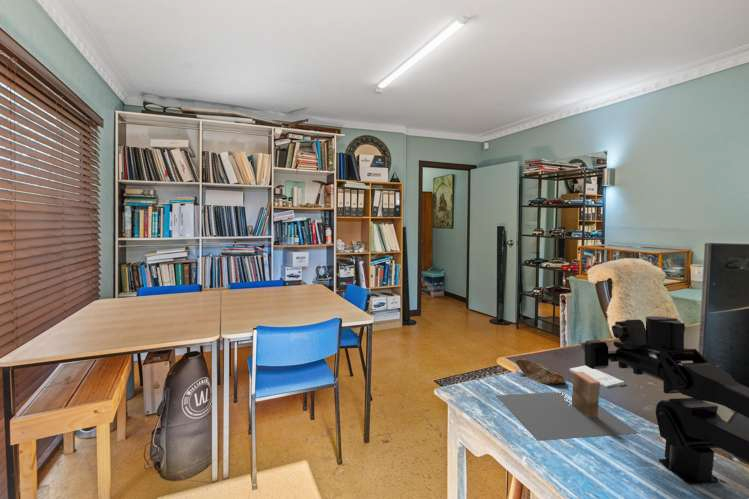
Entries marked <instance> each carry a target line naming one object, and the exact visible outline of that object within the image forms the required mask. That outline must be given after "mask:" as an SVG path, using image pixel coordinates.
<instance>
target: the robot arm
mask: <svg viewBox="0 0 749 499" xmlns="http://www.w3.org/2000/svg"><path fill="white" fill-rule="evenodd" d="M685 324H686V323H684V322H682V321H681V320H679V319H678V318H675V317H670V316H669V317H668V316H660V315H659V316H658V315H657V316H656V315H654V316H653V315H650V316H649V315H648V316H645V324H644V322H643V320H641V319H625V320H621V321H618V320H617V321H615V322H614V325H612V326H611V332H612V334H613V337H614V339H619V340H617V341H616V340H615V341H613V346H614V347H615V348H616V349H615V350H611V351H610V350H609V346H608V344H607V343H606V342H605V341H602V340H600V339H596V340H595V339H594V340H593V339H591V340H586V341H585V342H581V343H580V346H581V349H582V351H583V352H584V366H585V365H586V366H587V367H589V368H591V369H596V370H598V369H599V370H600V369H601V370H602V369H607V368H608V367H609V366H610V365H609V363H611V362H612V363H613V362H618V368H619V369H622V370H623V369H630V370H632V371H633V372H632V374H634V375H637V376H638V375H639V376H641V375H645V376H647V377H651V378H653V379H655V380H658V381H660V382H662V383H663V388H662V389H663V393H664V394H681V395H684V396H686V397H685V398H684V397H681V398H680V397H679V398H669V399H665V400H663V399H662V400H660V401H658V402H657V404H656V407H655V416H656V421H657V425H658V432H659V435H660V437H661V438H663V439H664V440H665V446H664V447H665V448H664V458H660V459H658V462H659V463H660V464H661V465H662V466H663V467H665V468H666V469H667V470H669V471H670V472H671V471H672V472H671V473H673V474H674V475H675V476H677V477H679V478H680V479H681V480H682V481H684V482H685V483H687V484H688V485H691V486H692V485H693V486H695V485H704V484H714V483H719V481H720V479H719V478H718V477H717V476H715V475H714V474H713V470H714V460H715V459H714V458H715V457H714V456H715V451H714V450H713V449H722V450H723V451H725V452H727V453H729V454H731V455H733V456H734V457H737V458H739V459H740V460H742V461H744V462H746V463H748V464H749V431H747V430H745V429H743V428H741V427H739V426H736V425H734V424H732V423H729V422H727V421H726V420H724V419H723V418H722V417H721V416H720V415H719V413H718V409H719V406H718V405H720V406H723V407H725V408H727V409H729V410H731V411H733V412H736V413H737V414H740V415H742V416H744V417H746V418H748V419H749V387H748V386H746V385H743V384H742V383H739V382H738V381H736V380H735V379H734V378H733V377H732V376H731V374H729V373H728V372H726V371H724V370H723V369H721V368H719V367H718V366H716V365H714V364H712V363H710V362H709V360H708V359H707V358H706V357H705V356H704V355H702V354H701V352H699V350H698V349H696V348H686V347H685V331H686V325H685ZM711 403H713V404H711ZM716 404H717V405H716Z"/></svg>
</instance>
